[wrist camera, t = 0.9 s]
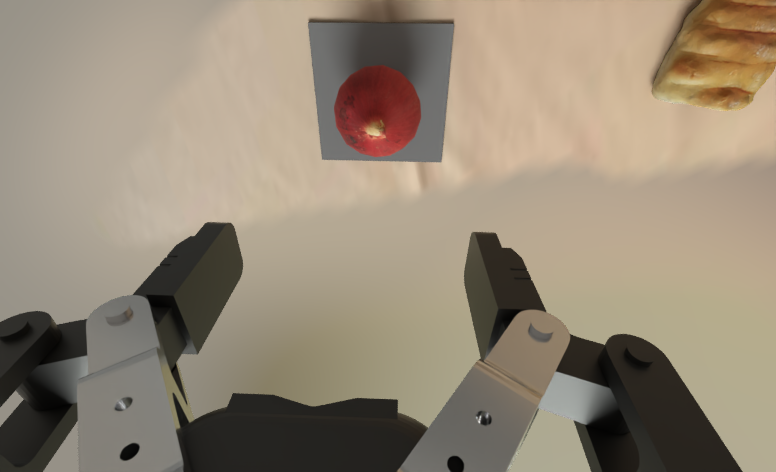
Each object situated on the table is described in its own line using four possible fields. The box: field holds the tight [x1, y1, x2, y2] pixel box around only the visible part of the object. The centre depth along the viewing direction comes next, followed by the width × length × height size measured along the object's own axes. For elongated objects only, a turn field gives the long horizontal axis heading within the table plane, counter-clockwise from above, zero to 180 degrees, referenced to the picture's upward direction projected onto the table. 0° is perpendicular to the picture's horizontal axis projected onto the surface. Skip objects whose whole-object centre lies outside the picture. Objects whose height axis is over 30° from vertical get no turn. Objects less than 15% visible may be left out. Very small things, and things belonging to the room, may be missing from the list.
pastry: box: [652, 0, 776, 111], centre depth 23 cm, size 9×7×4 cm
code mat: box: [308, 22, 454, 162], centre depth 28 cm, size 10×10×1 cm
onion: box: [334, 65, 421, 157], centre depth 24 cm, size 6×6×8 cm
